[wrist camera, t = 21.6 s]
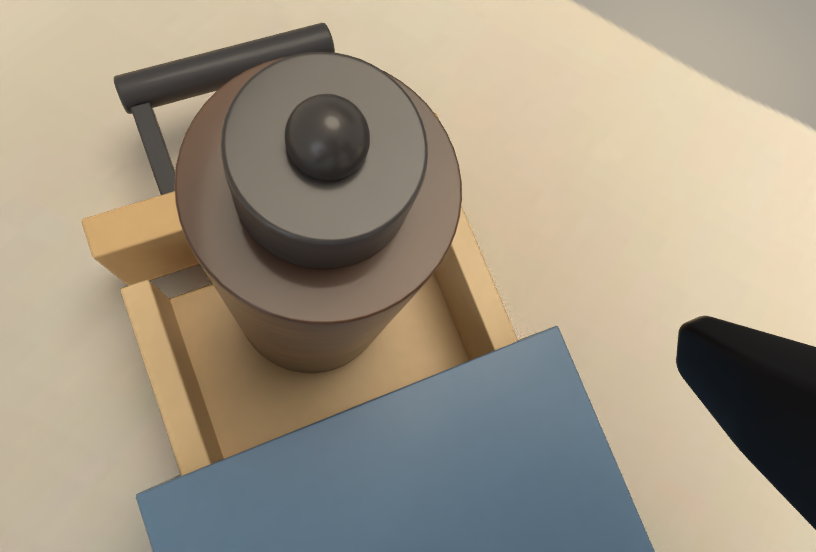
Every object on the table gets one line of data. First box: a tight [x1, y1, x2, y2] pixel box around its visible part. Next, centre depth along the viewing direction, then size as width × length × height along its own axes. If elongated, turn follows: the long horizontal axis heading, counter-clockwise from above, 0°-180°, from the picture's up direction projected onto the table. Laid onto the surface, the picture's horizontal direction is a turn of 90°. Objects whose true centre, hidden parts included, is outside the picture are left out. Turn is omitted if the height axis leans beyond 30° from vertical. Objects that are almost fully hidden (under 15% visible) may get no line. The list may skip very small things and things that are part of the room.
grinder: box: [174, 52, 462, 373], centre depth 15 cm, size 5×5×13 cm
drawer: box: [82, 23, 518, 476], centre depth 21 cm, size 18×11×4 cm, turn 21°
